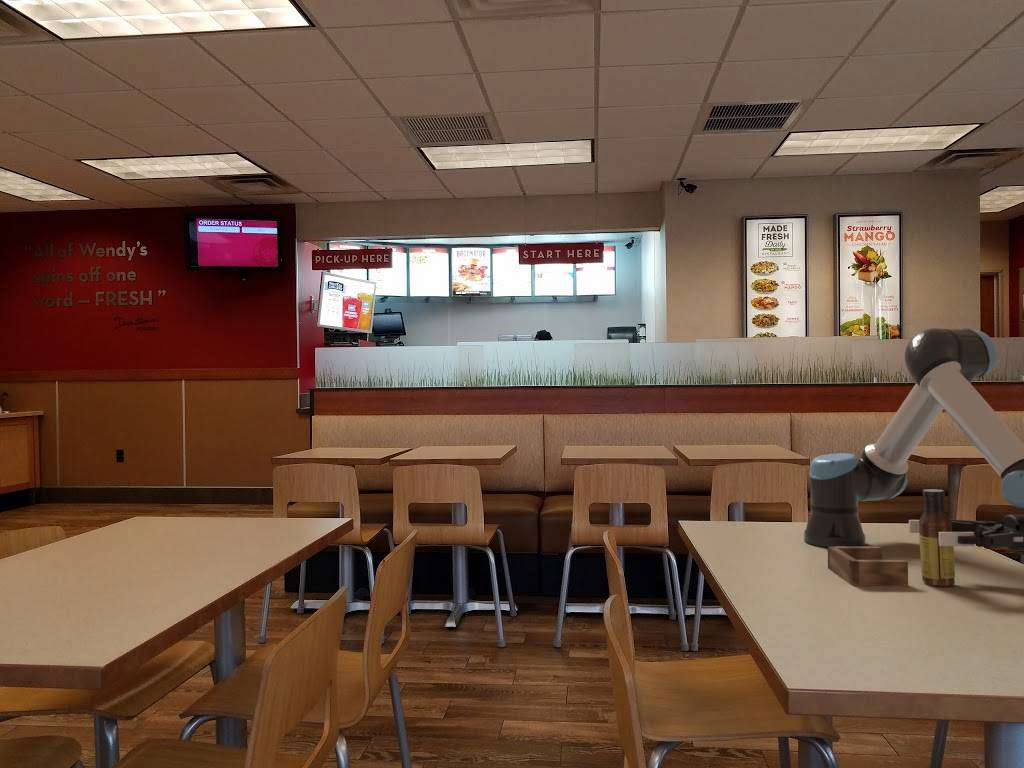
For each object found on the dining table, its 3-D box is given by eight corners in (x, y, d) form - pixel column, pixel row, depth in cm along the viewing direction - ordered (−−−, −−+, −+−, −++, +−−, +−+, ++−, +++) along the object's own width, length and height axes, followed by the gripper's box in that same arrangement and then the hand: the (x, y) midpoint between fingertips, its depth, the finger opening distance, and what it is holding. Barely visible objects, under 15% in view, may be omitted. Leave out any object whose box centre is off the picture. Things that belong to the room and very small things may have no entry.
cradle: (879, 568, 175) (879, 546, 175) (908, 585, 160) (907, 561, 160) (827, 568, 176) (827, 546, 176) (851, 585, 161) (851, 561, 161)
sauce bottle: (953, 582, 162) (952, 488, 162) (956, 589, 156) (955, 492, 156) (918, 579, 165) (917, 487, 165) (920, 586, 159) (919, 491, 159)
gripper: (1068, 564, 147) (953, 564, 148) (995, 538, 172) (898, 538, 173) (1067, 525, 147) (953, 525, 148) (995, 505, 172) (898, 505, 173)
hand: (923, 532), depth 161 cm, fingers open, 13 cm apart
